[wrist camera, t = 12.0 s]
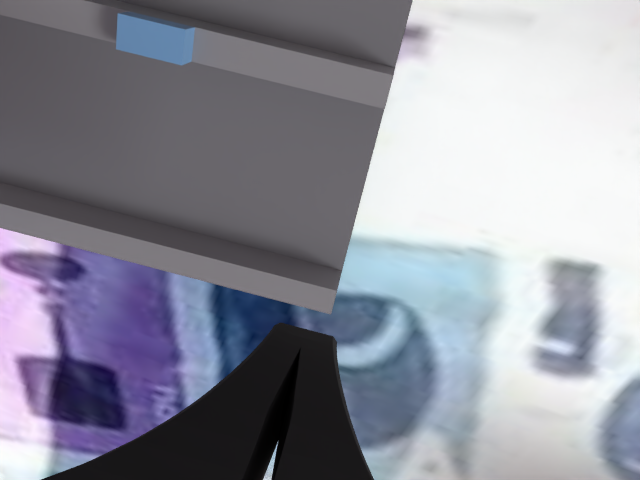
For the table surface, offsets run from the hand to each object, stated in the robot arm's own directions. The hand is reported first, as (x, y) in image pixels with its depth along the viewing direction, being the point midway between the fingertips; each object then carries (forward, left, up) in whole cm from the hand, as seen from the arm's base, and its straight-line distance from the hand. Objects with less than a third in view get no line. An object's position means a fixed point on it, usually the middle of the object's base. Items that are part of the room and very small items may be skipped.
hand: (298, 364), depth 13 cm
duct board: (-6, +5, -9) cm, 12 cm away
